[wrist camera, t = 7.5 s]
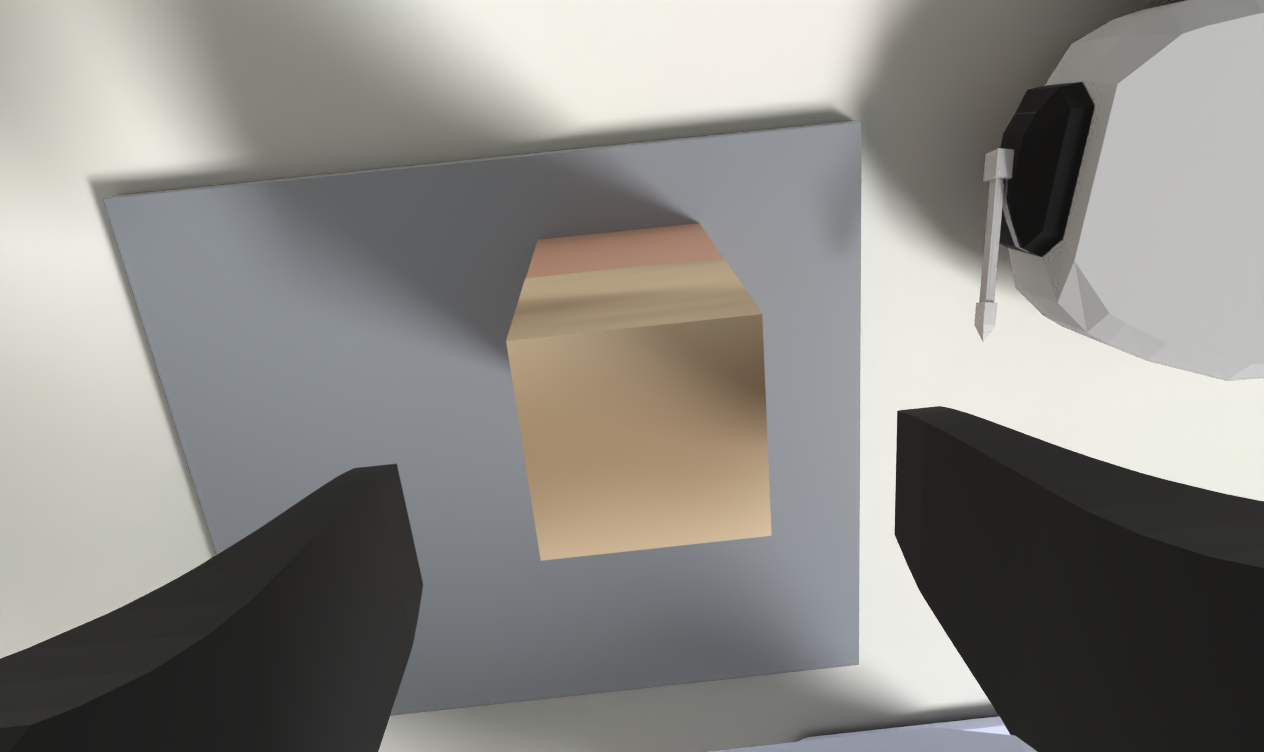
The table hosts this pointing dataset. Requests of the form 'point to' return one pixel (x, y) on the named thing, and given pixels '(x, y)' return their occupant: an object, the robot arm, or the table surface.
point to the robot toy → (1142, 190)
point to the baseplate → (485, 402)
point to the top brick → (641, 408)
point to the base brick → (621, 250)
